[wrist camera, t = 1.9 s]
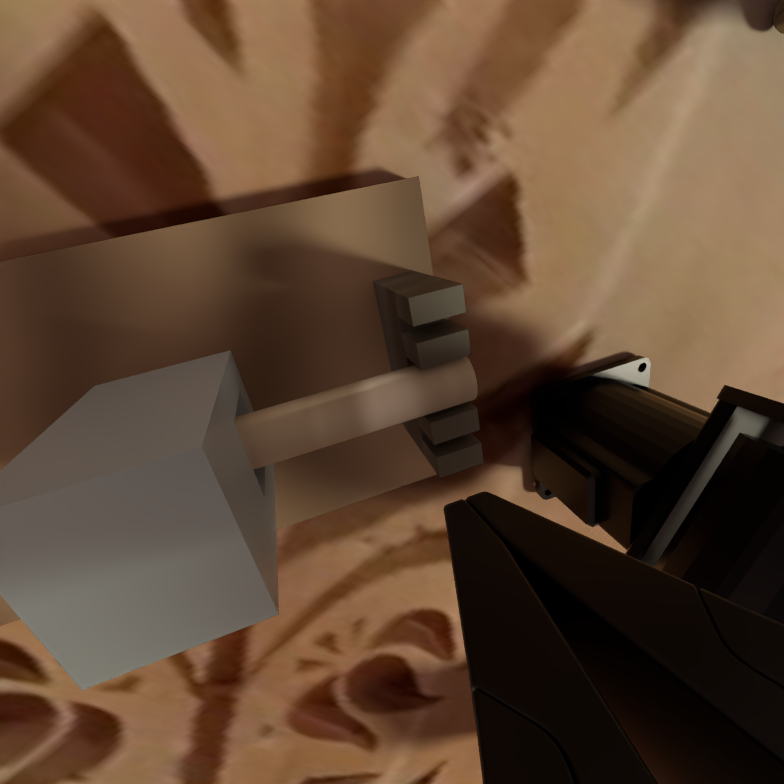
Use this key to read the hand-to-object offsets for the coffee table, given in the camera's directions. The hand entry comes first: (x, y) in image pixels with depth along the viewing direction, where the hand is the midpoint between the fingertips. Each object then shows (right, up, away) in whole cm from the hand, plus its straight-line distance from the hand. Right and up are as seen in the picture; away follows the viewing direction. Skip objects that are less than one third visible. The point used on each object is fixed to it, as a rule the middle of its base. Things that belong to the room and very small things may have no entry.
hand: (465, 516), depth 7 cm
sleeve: (-8, +1, +6) cm, 10 cm away
